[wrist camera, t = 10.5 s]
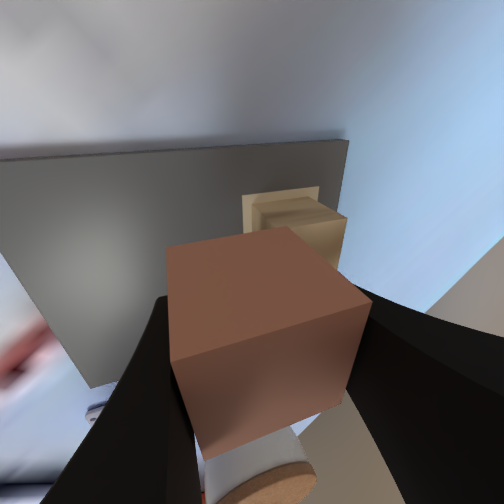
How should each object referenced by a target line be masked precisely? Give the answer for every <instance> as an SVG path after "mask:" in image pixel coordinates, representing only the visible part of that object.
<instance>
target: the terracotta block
mask: <svg viewBox="0 0 504 504" xmlns="http://www.w3.org/2000/svg"><path fill="white" fill-rule="evenodd" d="M166 267H167V292H168V316H169V341H170V363H171V366H172V369H173V371H174V374H175V377H176V380H177V383H178V386H179V389H180V392H181V395H182V398H183V401H184V404H185V407H186V409H187V412H188V415H189V418H190V421H191V424H192V427H193V430H194V433H195V436H196V439H197V442H198V445H199V447H200V450H201V453H202V456H203V459H204V461H206V460H208V459H211V458H213V457H216V456H218V455H220V454H223V453H225V452H228V451H230V450H232V449H235V448H237V447H239V446H242V445H244V444H247V443H249V442H251V441H254V440H256V439H258V438H261V437H263V436H266V435H268V434H270V433H273V432H275V431H277V430H280V429H282V428H285V427H287V426H289V425H292V424H294V423H296V422H299V421H301V420H304V419H306V418H308V417H311V416H313V415H315V414H318V413H320V412H323V411H325V410H327V409H330V408H332V407H334V406H337V405H339V404H341V402H342V398H343V395H344V392H345V389H346V386H347V382H348V379H349V376H350V373H351V370H352V366H353V363H354V360H355V357H356V353H357V350H358V347H359V344H360V341H361V337H362V334H363V331H364V328H365V324H366V321H367V318H368V315H369V312H370V308H371V305H372V302H373V301H371V300H370V299H369V298H368V297H367V296H366V295H365V294H363V293H362V292H361V291H360V290H359V289H358V288H357V287H356V286H354V285H353V284H352V283H351V282H350V281H349V280H348V279H346V278H345V277H344V276H343V275H342V274H341V273H340V272H339V271H337V270H336V269H335V268H334V267H333V266H332V265H331V264H329V263H328V262H327V261H326V260H325V259H324V258H323V257H321V256H320V255H319V254H318V253H317V252H316V251H315V250H314V249H312V248H311V247H310V246H309V245H308V244H307V243H306V242H304V241H303V240H302V239H301V238H300V237H299V236H298V235H297V234H295V233H294V232H293V231H292V230H291V229H290V228H289V227H287V226H283V227H278V228H272V229H266V230H261V231H255V232H249V233H244V234H238V235H233V236H227V237H221V238H216V239H210V240H204V241H199V242H193V243H188V244H182V245H176V246H171V247H166Z"/></svg>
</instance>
